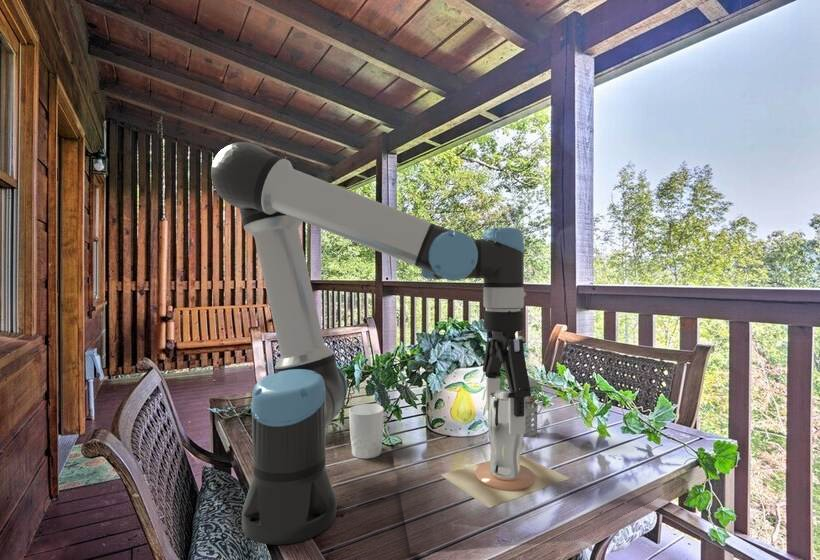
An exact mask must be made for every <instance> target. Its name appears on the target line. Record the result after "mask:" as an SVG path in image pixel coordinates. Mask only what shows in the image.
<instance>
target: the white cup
mask: <svg viewBox="0 0 820 560" xmlns="http://www.w3.org/2000/svg"><path fill="white" fill-rule="evenodd" d="M384 410H385V408H384V407H383V406H382V405H379V404H376V403H375V404H374V403H363V404H357V405H352V406H351V407H349V409H348V421H349V437H350V444H351V445H350V446H351V455H352V456H353V457H355V458H358V459H362V460H363V459H365V460H366V459H367V460H368V459H374V458H377V457H379V456H380V455H381V454H382V452H383V451H382V447H383V445H382V444H383V443H382V441H383V437H384V436H383V435H384V433H383V432H384V414H385V412H384Z"/></svg>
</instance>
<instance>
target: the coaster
mask: <svg viewBox="0 0 820 560" xmlns="http://www.w3.org/2000/svg"><path fill="white" fill-rule="evenodd" d="M489 466H490V462H487V463H484V464H481V465H480V466H478V467H477V469H476V478H477V480H478V481H479V482H481V483H482V484H484V485H486V486H488V487H490V488H494V489H498V490H505V491H517V490H523V489H526V488H528V487H530V486H532V485H533V483H534V474H533V472H532V471H531V470H530V469H528V468H527V467H525V466H522V465H520V468H521V477H520V478H519V479H516V480H501V479H498V478H495V477H493V476H492V475H491V474H490V473H489Z"/></svg>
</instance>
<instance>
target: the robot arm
mask: <svg viewBox="0 0 820 560" xmlns="http://www.w3.org/2000/svg"><path fill="white" fill-rule="evenodd" d="M210 168H211V169H210V171H211V172H210V176H211V177H210V178H211V182H212V184H213V187H214V189H215V191H216V193H217V195H218V196H219V197H220V198H221V199H222V200H224V201H225V202H226V203H227V204H229V205H231V206H233V207H234V208H238V209H239V213H240V217H241V222H242V225H243V229H244V231H245V232H247V233H249V234H250V235H251V236H253V238H254V241H255V247H256V252H257V254H258V255H257V256H258V260H259V263H260V269H261V273H262V277H263V282H264V286H265V290H266V291H265V292H266V294H267V300H268V303H269V308H270V313H271V317H272V323H273V326H274V332H275V335H276V340H277V344H278V349H279V353H280V357H279V358H278V360H277V362H276V364H274V365H275V366H274V369H275V373H271V374H268V375H266V376H264V377H262V378H261V379H260V380H259V381H257V382H256V384H254V387H253V390H252V397H251V398H252V399H251V403H250V411H251V412H250V413H251V429H252V430H251V434H252V435H251V438H252V439H251V440H252V478H251V481H250V484H249V487H248V492H247V494H246V497H245V501H244V504H243V506H242V510H241V530H242V532H243V534H244V535H245V536H246V537H247V538H248V539H249V540H252V541H254V542H256V543H259V544H263V545H271V546H272V545H275V546H277V545H278V546H281V545H289V544H294V543H299V542H302V541H306V540H309V539H312V538H314V537H315V536H317V535H319V534H321V533H323V532H324V531H325V530H327V529H328V528H329V527H330V526H331V525H332V524H333V522H335V519H336V517H337V512H338V511H337V497H336V493H335V491H334V488H333V484H332V481H331V479H330V475H329V473H328V470H327V467H326V432H327V431H326V430H327V428H328V427H329V425H330V424H331V423H332V421H333V420H334V418H336V417H337V415H338V414H340V412H341V411H342V410H343V409H342V408H343V407H344V405H345V402H346V400H347V395H348V382H347V378H346V376H345V374H344V372H343V371H342V370H341V368H340V367H338V363H337V360H336V355H335V352H334V350H333V349H331V348H330V347H328V346H326V344H325V341H324V338H323V333H322V328H321V323H320V318H319V315H318V310H317V305H316V302H315V297H314V293H313V292H314V291H313V287H312V283H311V279H310V275H309V274H310V273H309V271H308V266H307V261H306V257H305V252H304V249H303V248H304V247H303V243H302V239H301V235H300V226H301V225H302V223H303V222H304V223H306V224H308V225H310V226H311V225H312V226H314V227H317V228H319V229H321V230H324V231H326V232H329V233H332V234H334V235H336V236H339V237H342V238H344V239H346V240H349V241H352V242H354V243H357V244H359V245H361V246H364V247H366V248H369V249H372V250H374V251H377V252H379V253H382V254H384V255H387V256H389V257H393V258H394V259H396V260H399V261H402V262H405V263H407V264H409V265H412V266H415V267H417V268H419V269H420V270H421V276H422V277H423V278H424V279H428V280H429V279H430V280H437V281H438V280H447V281H452V282H453V281H454V282H456V281H460V280H467V279H476V280H477V279H478V280H479V279H483V294H482V296H483V297H482V299H483V308H485V309H486V310H485V311H483V328H484V330H485V331H487V333H486V345H485V352H484V358H483V365H482V371H483V373H485V374H484V375H485V377H486V380H485V381H486V385H485V386H486V387H485V388H486V389H485V390H486V398H485V399H486V404H485V405H486V411H488V409H489V400H490V393H491V392H493V391H501V377H502V374H501V370H502V369H501V368H502V366H503V368H504V372H505V376H506V379H507V380H508V384H509V385H508V388H509V391H510V393H509V394H508V396H507V397H508V398H509V434H510V435H511V434H525V397H528V396H532V391H531V390H532V389H531V390H530V384H529V379H528V376H529V374H528V369H527V368H528V367H527V363H526V356H525V350H524V341H523V340H522V339H517V337H516V333H517V332H522V331H524V329H525V312H524V311H523V310H521V309H523V308H524V305H525V301H524V299H525V297H526V296H527V292H525V291H524V288H525V287H524V286H525V285H524V282H525V281H524V279H525V278H524V277H525V271H524V268H525V265H524V264H525V262H524V261H525V250H524V247H525V246H524V238H523V237H524V235H523V232H522V230H521V229H519V228H516V227H493V228H486V229H485V230H484V231H483V236H482V237H481V238H479V239H478V238H476V239H472V237H470V235H468V234H466V233H464V232H462V231H459V230H450V229H448V228H445V227H442V226H439V225H436V224H435V223H432V222H430V221H428V220H426V219H422V218H420V217H417V216H415V215H413V214H410V213H407V212H404V211H403V210H399V209H397V208H394V207H391V206H389V205H387V204H385V203H381V202H379V201H377V200H374V199H373V198H372V199H371V198H369V197H366V196H364V195H361V194H358V193H356V192H353V191H351V190H349V189H346V188H344V187H341V186H338V185H336V184H333V183H331V182H328V181H326V180H323V179H321V178H318V177H315V176H313V175H310V174H308V173H305V172H303V171H300V170H297V169H294V167H293V165H292V162H291V161H290V160H288V159H286V158H284V157H281V156H279V155H277V154H274V153H272V152H270V151H268V150H267V149H265V148H263V146H260V145H258V144H255V143H252V142H247V141H246V142H245V141H242V142H241V141H238V142H234V143H231V144H229V145H226V146H225V147H224V148H222V149H220V151H218V153H217V154H216V155H215V157H214V159H213V161H212V164H211V167H210Z"/></svg>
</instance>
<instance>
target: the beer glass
mask: <svg viewBox="0 0 820 560" xmlns="http://www.w3.org/2000/svg"><path fill="white" fill-rule="evenodd" d="M509 393H510V390H500V391H493V392H491V393H490V400H489V409H488V410H487V423H488V435H489V440H490V448H491V457H490V460H491V462H490V466H489V473H490V474H491V475H492V476H493V477H495V478H498V479H501V480H516V479H519V478H520V477H521V468H520V455H521V449H522V444H523V439H524V437H523V436H525V435H524V434H511V435H510V434H509V398H508V397H507V396H508V394H509ZM525 419H526V412H525Z"/></svg>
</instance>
